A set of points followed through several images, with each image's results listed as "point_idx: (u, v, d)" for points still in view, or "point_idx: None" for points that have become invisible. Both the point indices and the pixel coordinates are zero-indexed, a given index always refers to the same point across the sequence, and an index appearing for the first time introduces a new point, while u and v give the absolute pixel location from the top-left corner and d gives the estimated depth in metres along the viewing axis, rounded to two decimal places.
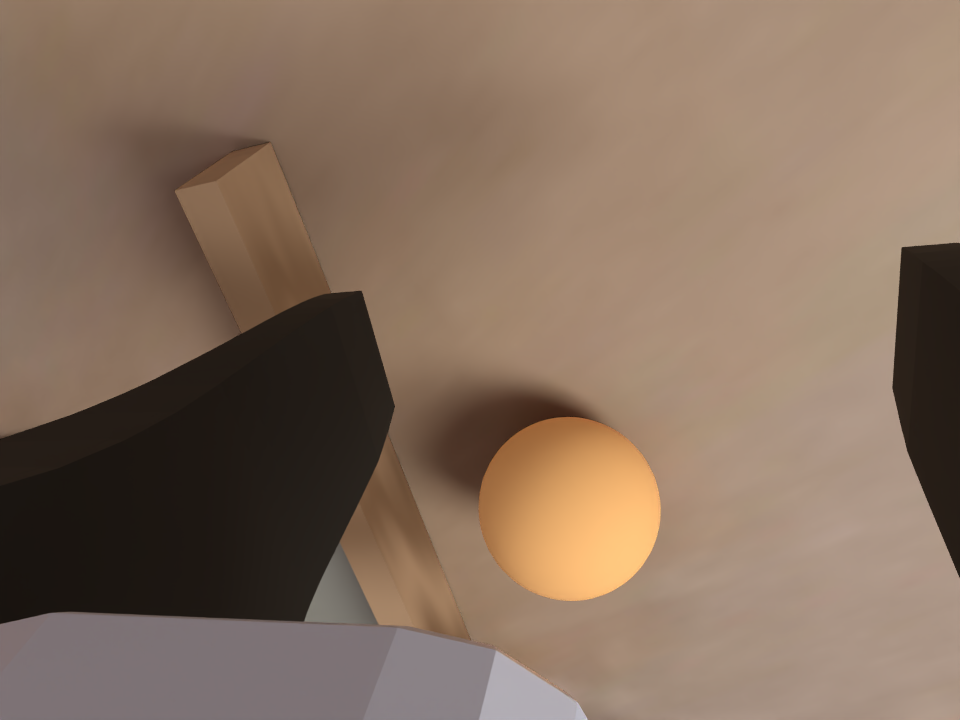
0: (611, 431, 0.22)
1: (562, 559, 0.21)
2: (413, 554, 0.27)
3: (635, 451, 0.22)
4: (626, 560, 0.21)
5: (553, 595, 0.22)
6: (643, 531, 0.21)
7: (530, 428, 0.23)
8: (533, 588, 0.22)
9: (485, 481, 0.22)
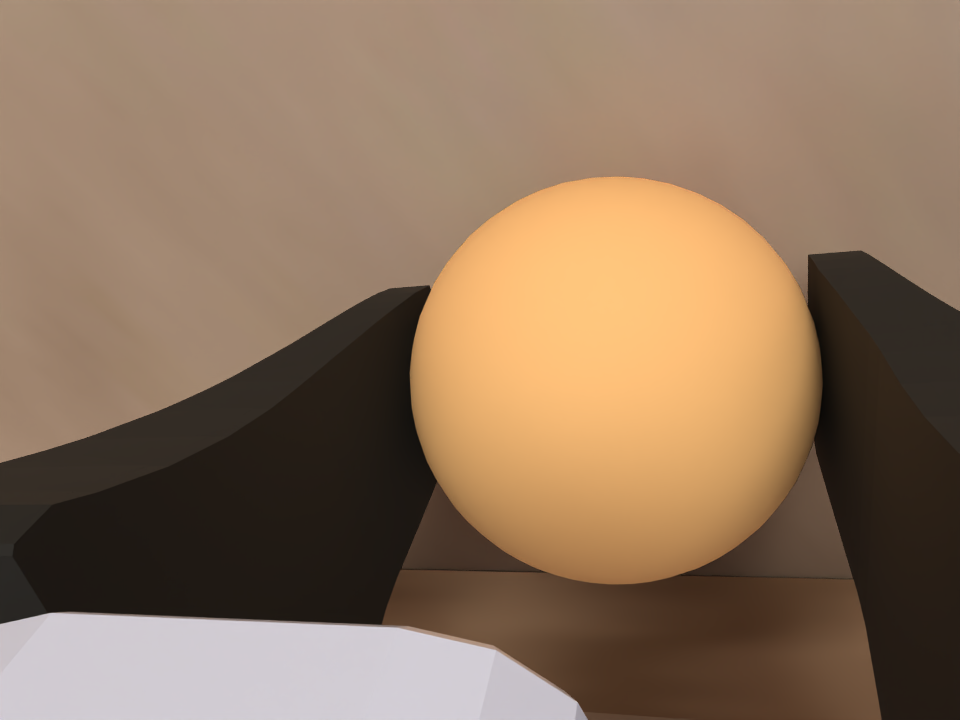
0: None
1: (545, 489, 0.08)
2: (806, 639, 0.14)
3: None
4: (607, 333, 0.08)
5: (698, 520, 0.08)
6: (562, 268, 0.08)
7: None
8: (676, 554, 0.09)
9: None
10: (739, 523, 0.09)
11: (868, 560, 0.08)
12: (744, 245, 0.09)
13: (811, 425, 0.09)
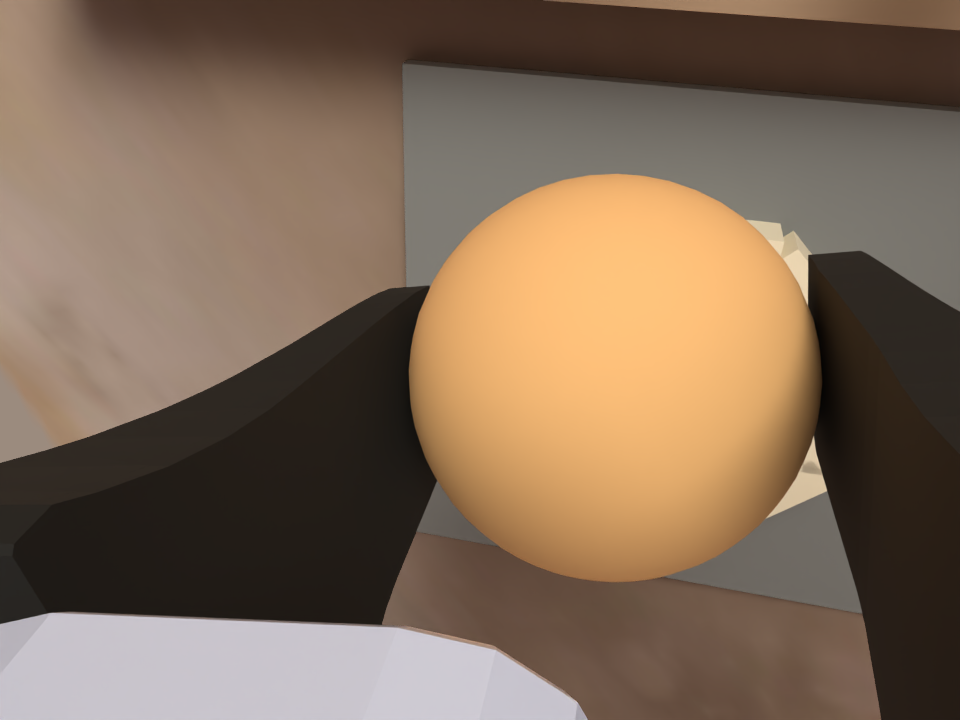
0: None
1: (544, 485, 0.08)
2: None
3: None
4: (606, 329, 0.08)
5: (698, 518, 0.08)
6: (562, 265, 0.08)
7: None
8: (675, 551, 0.09)
9: None
10: (739, 520, 0.09)
11: (868, 560, 0.08)
12: (743, 242, 0.09)
13: (811, 422, 0.09)
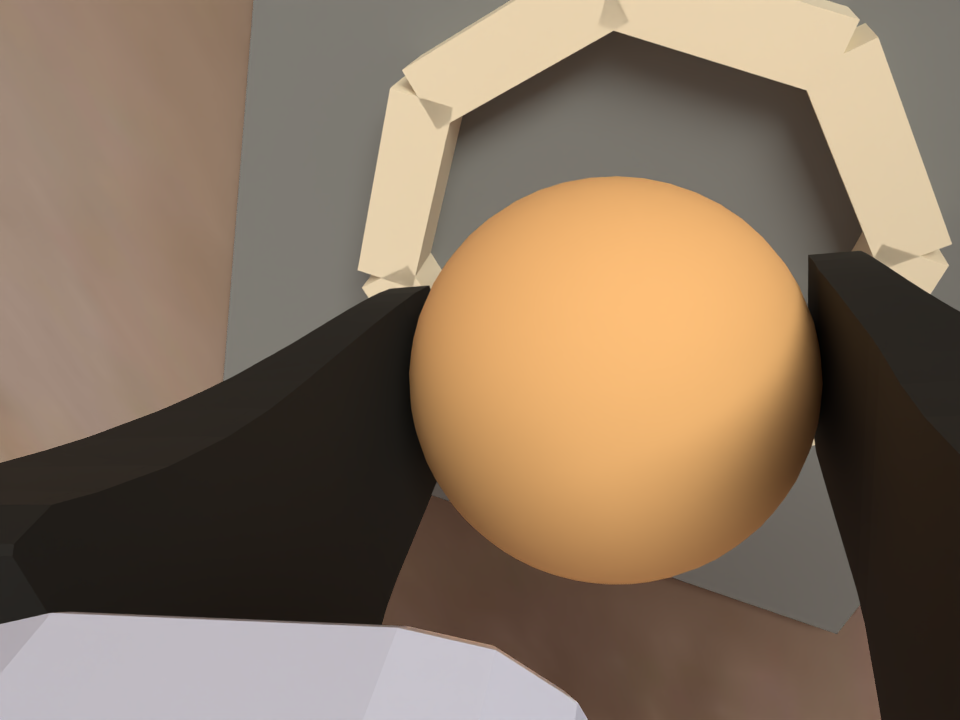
0: None
1: (545, 488, 0.08)
2: None
3: None
4: (606, 332, 0.08)
5: (698, 520, 0.08)
6: (562, 267, 0.08)
7: None
8: (675, 554, 0.09)
9: None
10: (739, 523, 0.09)
11: (868, 560, 0.08)
12: (744, 244, 0.09)
13: (811, 425, 0.09)
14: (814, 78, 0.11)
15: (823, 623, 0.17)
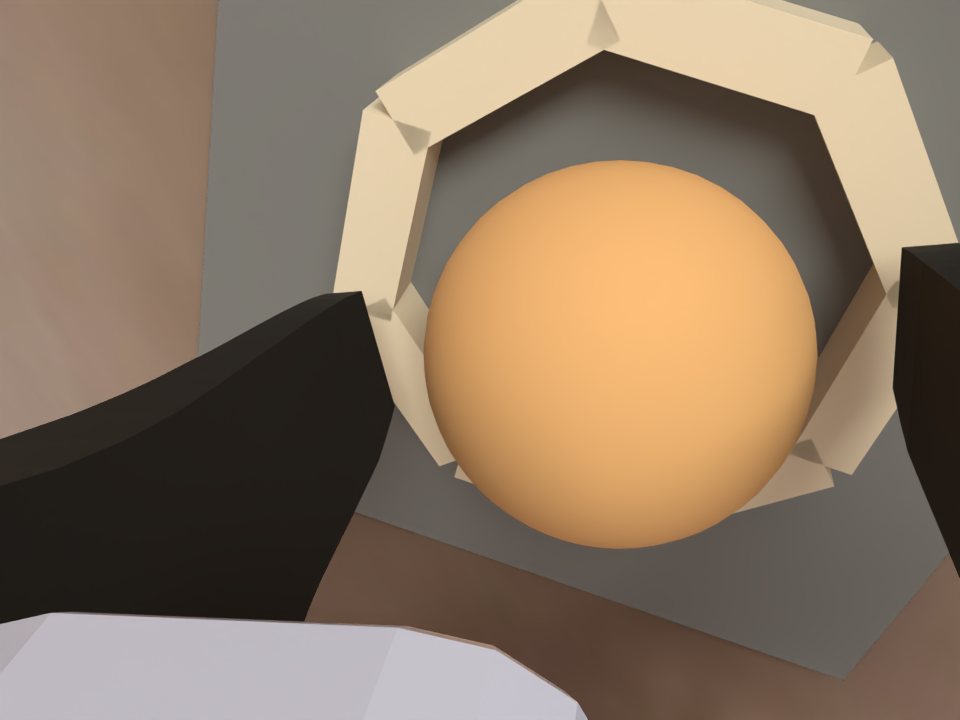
0: None
1: (555, 453, 0.09)
2: None
3: None
4: (616, 303, 0.09)
5: (701, 482, 0.09)
6: (572, 243, 0.09)
7: None
8: (679, 515, 0.09)
9: None
10: (739, 486, 0.09)
11: None
12: (743, 223, 0.09)
13: (807, 393, 0.10)
14: (822, 102, 0.10)
15: (829, 669, 0.17)
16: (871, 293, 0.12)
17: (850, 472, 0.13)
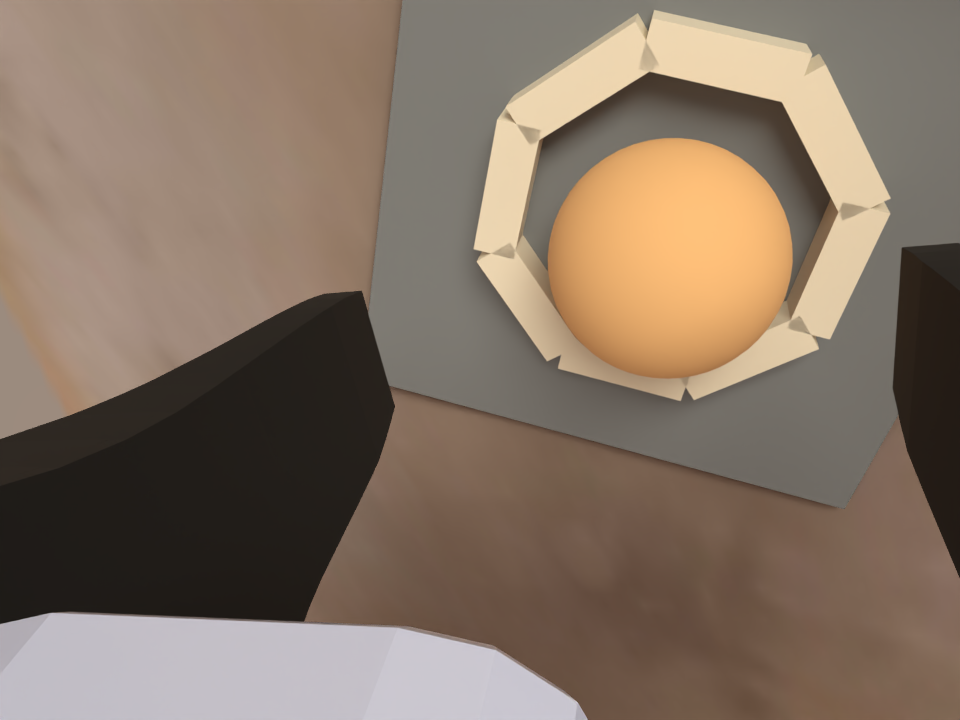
0: None
1: (639, 306, 0.15)
2: None
3: None
4: (669, 216, 0.15)
5: (724, 319, 0.15)
6: (641, 186, 0.15)
7: None
8: (713, 342, 0.16)
9: None
10: (748, 323, 0.16)
11: None
12: (740, 168, 0.16)
13: (785, 267, 0.16)
14: (785, 93, 0.17)
15: (833, 501, 0.23)
16: (830, 214, 0.18)
17: (828, 337, 0.19)
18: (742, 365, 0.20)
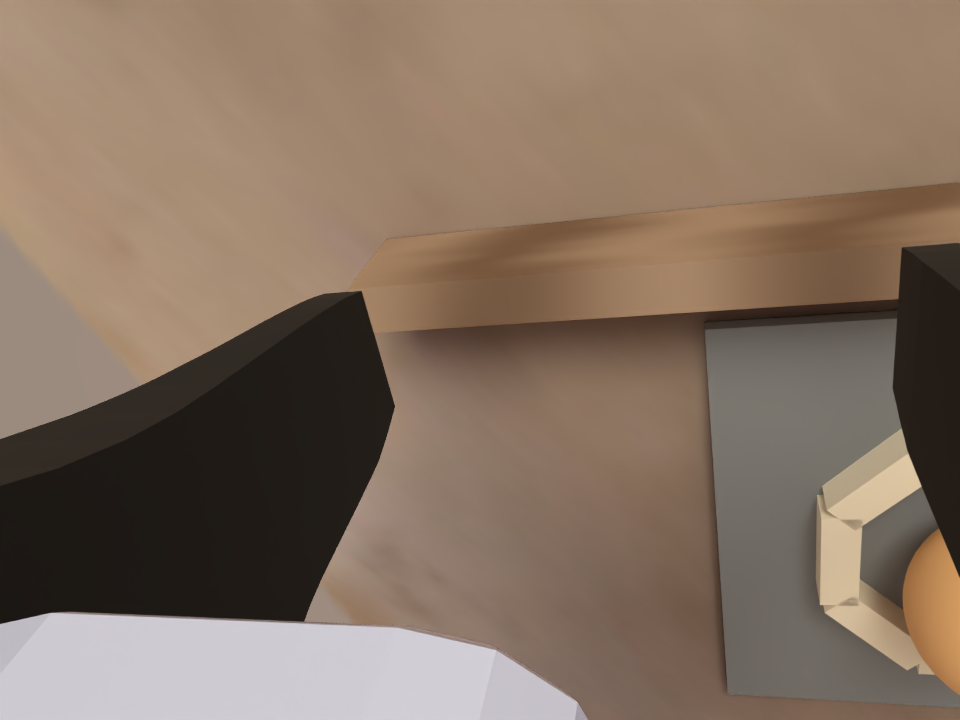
0: (908, 567, 0.21)
1: None
2: None
3: (923, 554, 0.21)
4: None
5: None
6: None
7: None
8: None
9: None
10: None
11: None
12: None
13: None
14: None
15: None
16: None
17: None
18: None
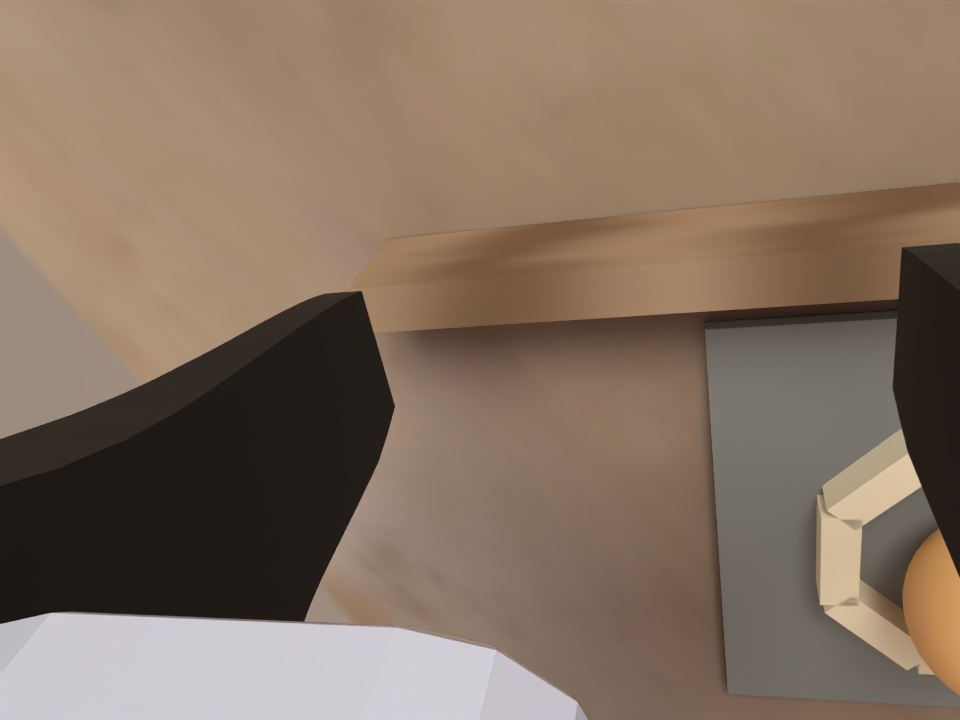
0: (908, 567, 0.21)
1: None
2: None
3: (923, 554, 0.21)
4: None
5: None
6: None
7: None
8: None
9: None
10: None
11: None
12: None
13: None
14: None
15: None
16: None
17: None
18: None
